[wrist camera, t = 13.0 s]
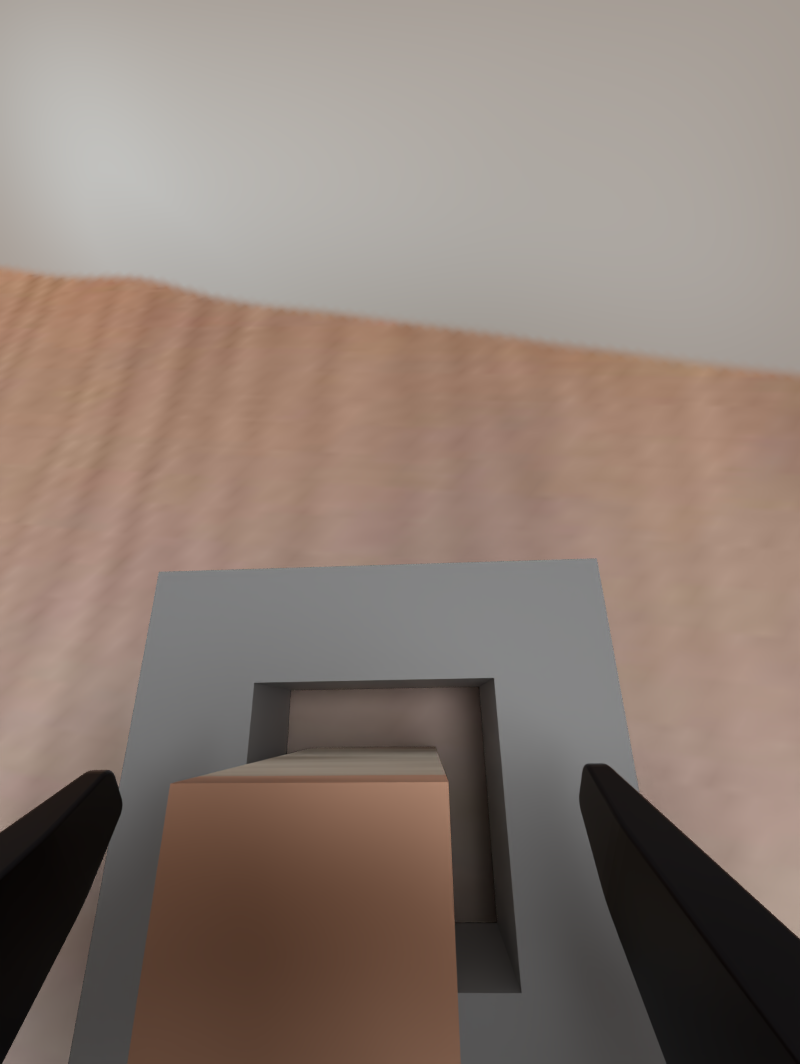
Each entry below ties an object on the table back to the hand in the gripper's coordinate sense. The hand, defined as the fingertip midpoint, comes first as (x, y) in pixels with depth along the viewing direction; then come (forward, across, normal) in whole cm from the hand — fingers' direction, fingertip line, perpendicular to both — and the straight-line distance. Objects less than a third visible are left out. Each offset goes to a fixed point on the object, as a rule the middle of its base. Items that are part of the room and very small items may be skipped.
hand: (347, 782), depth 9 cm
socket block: (+5, 0, +6) cm, 8 cm away
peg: (+5, 0, +7) cm, 8 cm away
